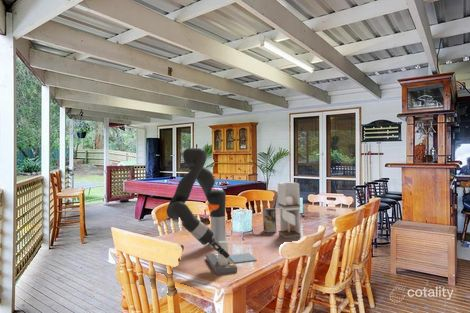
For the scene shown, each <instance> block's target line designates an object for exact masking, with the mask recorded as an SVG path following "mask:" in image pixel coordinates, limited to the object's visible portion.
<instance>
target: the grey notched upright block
mask: <svg viewBox="0 0 470 313" xmlns="http://www.w3.org/2000/svg"><path fill="white" fill-rule="evenodd" d="M277 202H278V204H277V208H278V209H279V219H280V221H279V223H280V227H279V228H280V230H278V234H279V235H280V236H282V237H283V238H298V237H299V238H300V237H301V235H302V234H301V198H300V183H298V182H294V181H293V182H277Z"/></svg>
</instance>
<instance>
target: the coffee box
mask: <svg viewBox="0 0 470 313" xmlns="http://www.w3.org/2000/svg"><path fill="white" fill-rule="evenodd" d="M262 219H263V220H262V224H263V226H262V227H263V233H277V212H276V208H275V207H265V208H262Z"/></svg>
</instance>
